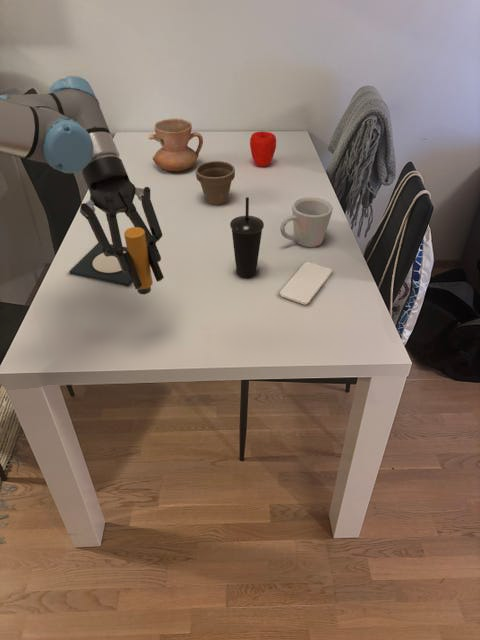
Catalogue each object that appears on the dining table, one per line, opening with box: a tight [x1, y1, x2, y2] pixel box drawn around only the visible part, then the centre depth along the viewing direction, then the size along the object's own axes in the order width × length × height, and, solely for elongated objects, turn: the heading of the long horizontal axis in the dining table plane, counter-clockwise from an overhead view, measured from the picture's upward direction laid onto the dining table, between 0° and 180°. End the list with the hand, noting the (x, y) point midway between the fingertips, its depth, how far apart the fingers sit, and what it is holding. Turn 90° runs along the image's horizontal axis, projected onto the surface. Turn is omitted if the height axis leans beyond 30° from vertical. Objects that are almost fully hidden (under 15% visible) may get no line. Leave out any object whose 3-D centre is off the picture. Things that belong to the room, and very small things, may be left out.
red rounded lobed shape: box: [249, 131, 277, 168], centre depth 162 cm, size 9×9×11 cm
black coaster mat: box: [69, 242, 133, 287], centre depth 120 cm, size 16×14×1 cm
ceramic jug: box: [147, 118, 204, 172], centre depth 159 cm, size 18×14×14 cm
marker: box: [123, 226, 153, 295], centre depth 88 cm, size 4×4×13 cm
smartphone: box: [279, 261, 333, 306], centre depth 113 cm, size 7×1×15 cm
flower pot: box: [194, 160, 236, 206], centre depth 142 cm, size 12×11×10 cm
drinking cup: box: [229, 197, 265, 279], centre depth 111 cm, size 8×8×20 cm
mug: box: [279, 196, 334, 248], centre depth 124 cm, size 10×15×10 cm
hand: (149, 283), depth 87 cm, fingers closed on marker, 4 cm apart
